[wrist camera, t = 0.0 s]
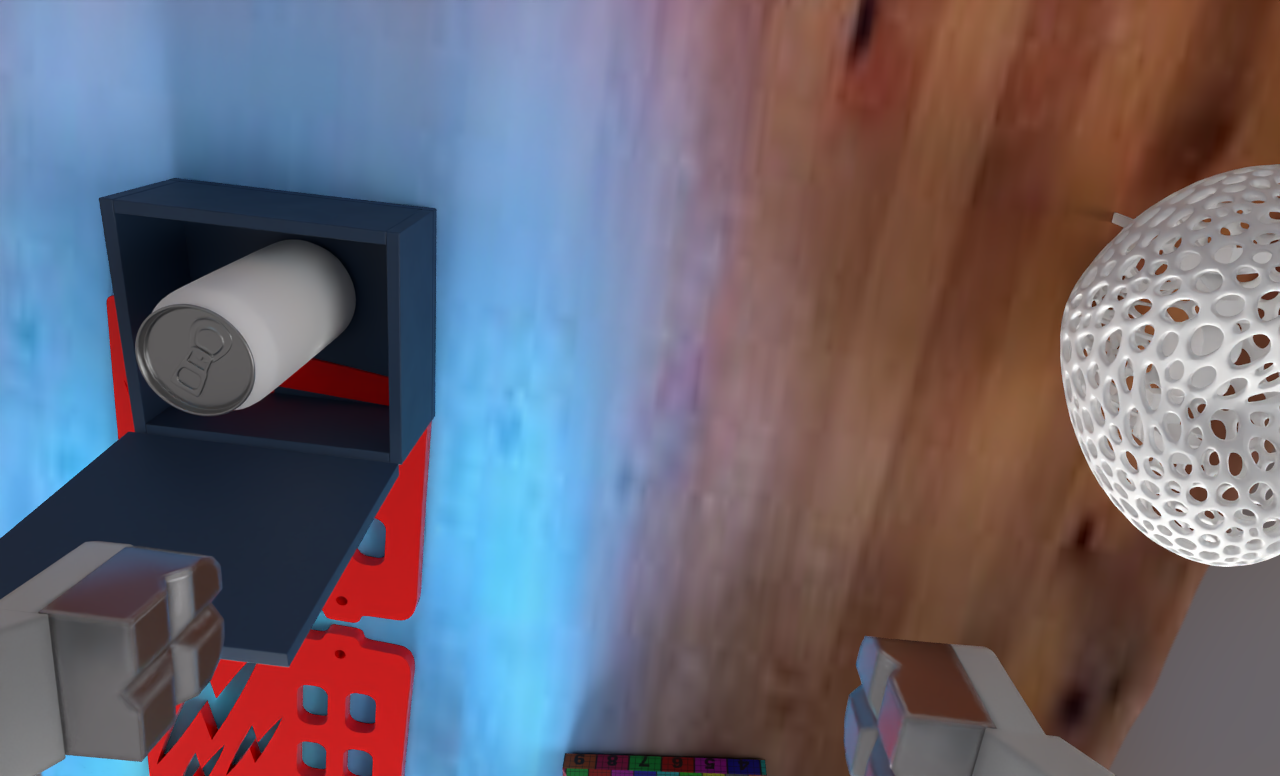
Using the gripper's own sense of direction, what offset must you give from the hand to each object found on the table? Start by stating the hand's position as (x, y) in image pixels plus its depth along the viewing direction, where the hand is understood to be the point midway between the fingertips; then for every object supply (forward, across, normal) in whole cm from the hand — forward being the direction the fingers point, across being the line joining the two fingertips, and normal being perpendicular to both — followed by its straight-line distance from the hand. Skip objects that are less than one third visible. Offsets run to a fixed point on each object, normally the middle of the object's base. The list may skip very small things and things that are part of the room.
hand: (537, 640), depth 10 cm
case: (+40, +20, +6) cm, 45 cm away
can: (+39, +20, +5) cm, 44 cm away
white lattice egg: (+39, -27, 0) cm, 48 cm away
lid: (+26, +20, +14) cm, 36 cm away
